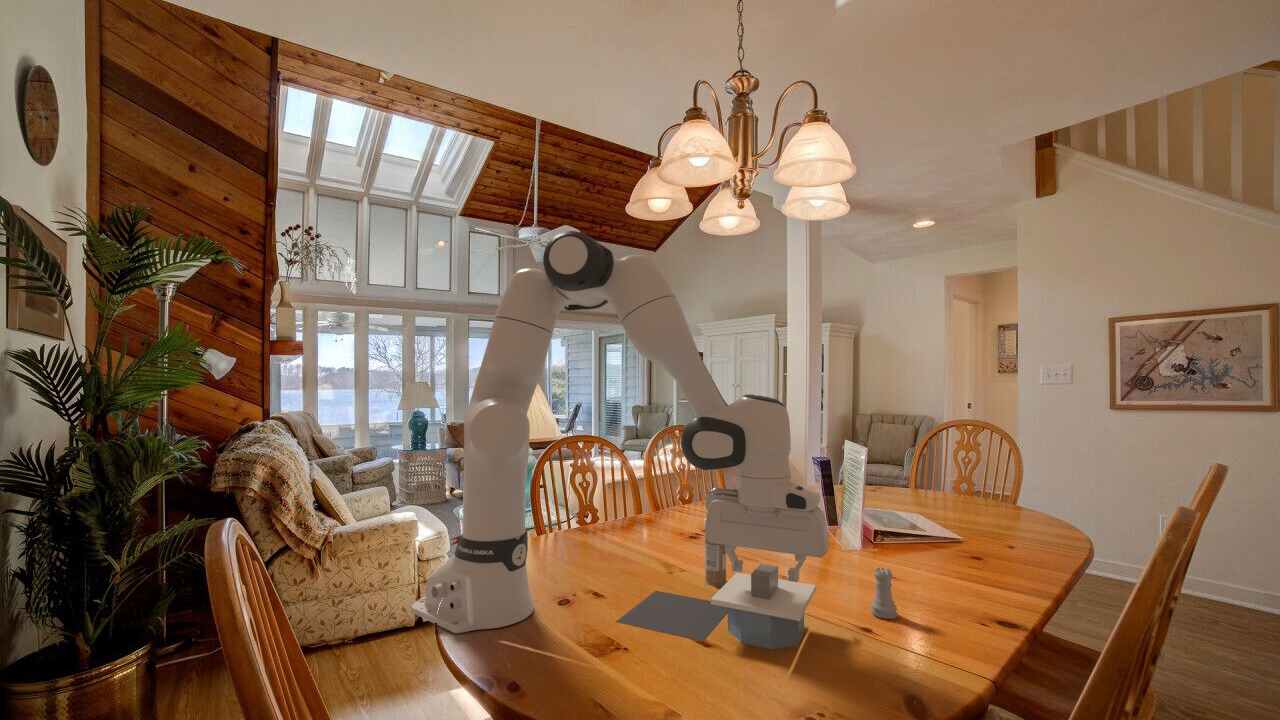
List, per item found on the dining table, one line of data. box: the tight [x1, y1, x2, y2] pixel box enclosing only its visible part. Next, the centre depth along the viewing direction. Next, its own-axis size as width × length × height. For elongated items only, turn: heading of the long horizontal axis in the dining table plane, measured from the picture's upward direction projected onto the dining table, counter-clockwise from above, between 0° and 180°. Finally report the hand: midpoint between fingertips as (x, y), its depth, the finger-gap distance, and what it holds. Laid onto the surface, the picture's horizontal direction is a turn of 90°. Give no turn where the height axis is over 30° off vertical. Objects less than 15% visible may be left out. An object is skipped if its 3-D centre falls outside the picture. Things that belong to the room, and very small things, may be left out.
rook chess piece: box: [870, 567, 898, 620], centre depth 98 cm, size 4×4×8 cm
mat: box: [615, 590, 728, 642], centre depth 98 cm, size 16×16×1 cm
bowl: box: [727, 607, 805, 651], centre depth 91 cm, size 12×12×6 cm
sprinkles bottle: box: [703, 517, 728, 587], centre depth 114 cm, size 5×5×14 cm
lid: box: [710, 563, 817, 621], centre depth 91 cm, size 14×14×4 cm
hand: (764, 576), depth 91 cm, fingers open, 8 cm apart
